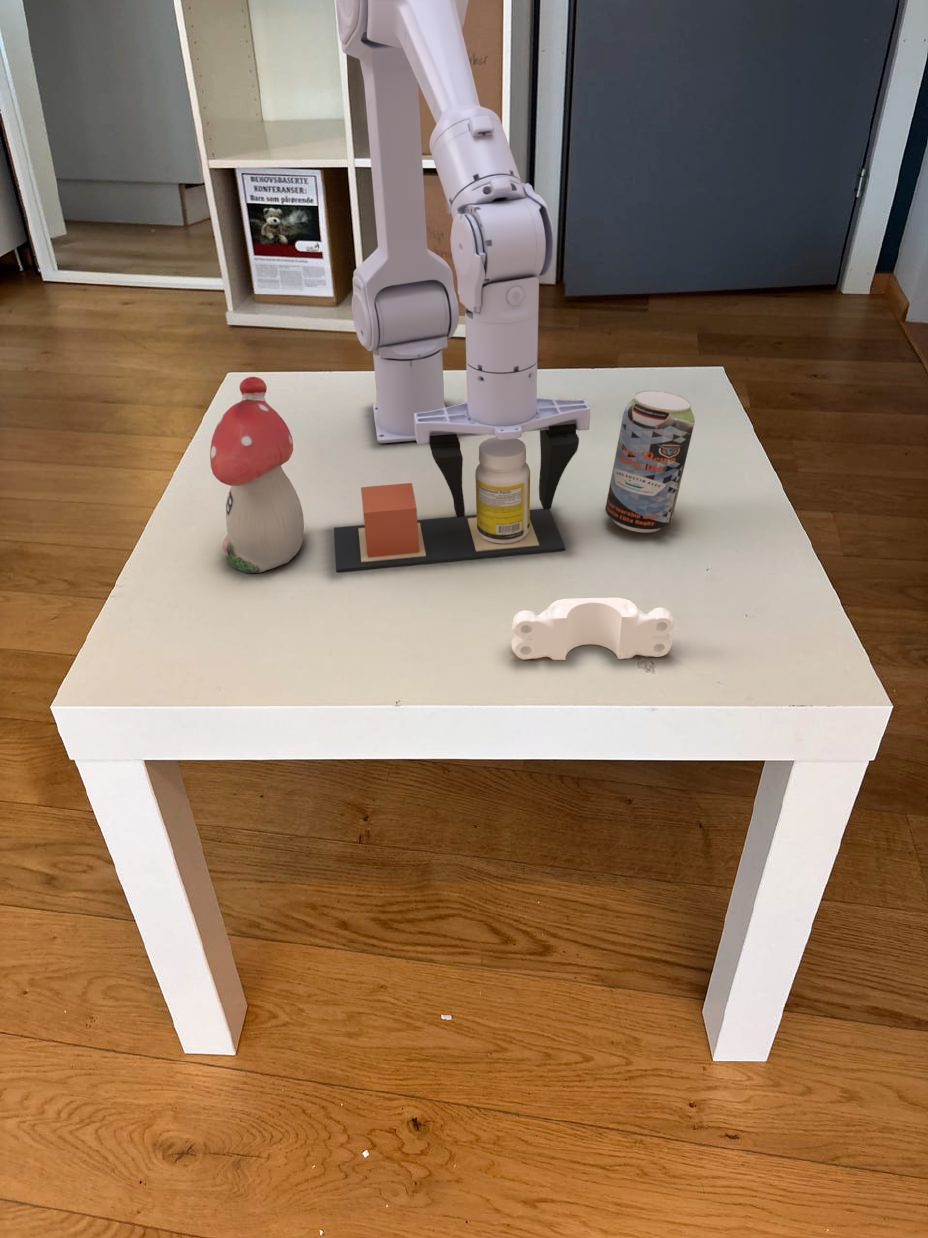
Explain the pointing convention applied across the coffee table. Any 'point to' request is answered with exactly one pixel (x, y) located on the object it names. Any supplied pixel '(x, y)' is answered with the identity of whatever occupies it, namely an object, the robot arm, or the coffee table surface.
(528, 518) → the supplement bottle
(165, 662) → the coffee table surface
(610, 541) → the coffee table surface
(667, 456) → the beverage can
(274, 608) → the coffee table surface
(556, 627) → the pipe clamp
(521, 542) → the black rectangular board
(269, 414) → the decorative ornament
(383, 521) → the orange red cube
